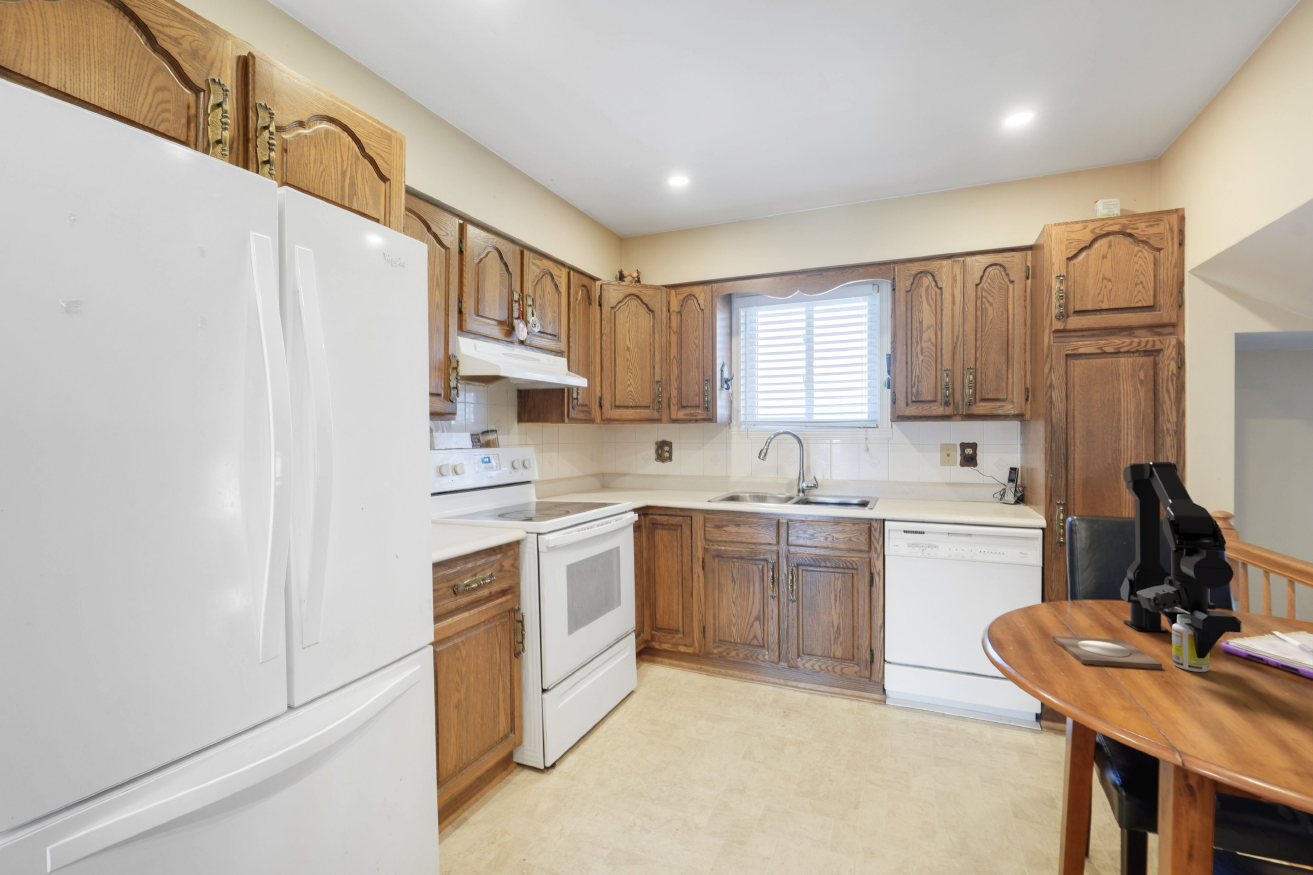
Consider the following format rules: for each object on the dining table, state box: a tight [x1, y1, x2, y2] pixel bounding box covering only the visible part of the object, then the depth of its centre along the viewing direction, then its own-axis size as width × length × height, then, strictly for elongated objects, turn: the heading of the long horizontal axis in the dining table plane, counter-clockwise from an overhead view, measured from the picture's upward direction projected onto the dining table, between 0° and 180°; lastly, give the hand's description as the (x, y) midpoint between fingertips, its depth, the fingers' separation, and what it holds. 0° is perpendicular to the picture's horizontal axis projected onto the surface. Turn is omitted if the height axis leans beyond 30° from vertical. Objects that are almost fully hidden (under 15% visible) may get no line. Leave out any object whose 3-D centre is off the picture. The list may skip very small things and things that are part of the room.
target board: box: [1052, 635, 1163, 670], centre depth 125 cm, size 14×14×1 cm
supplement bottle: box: [1171, 614, 1211, 673], centre depth 117 cm, size 6×6×10 cm
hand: (1190, 652), depth 117 cm, fingers closed on supplement bottle, 6 cm apart
